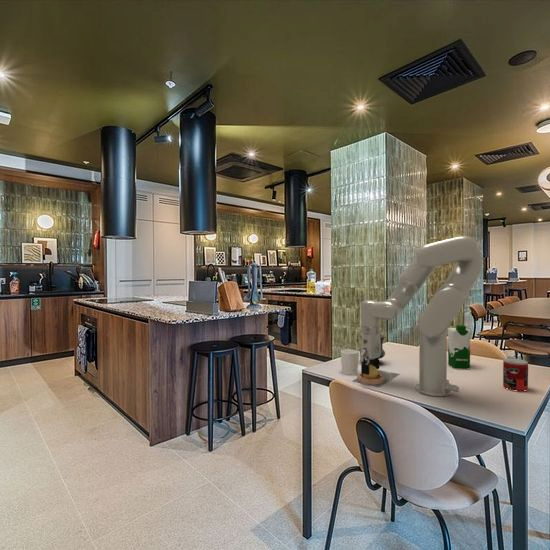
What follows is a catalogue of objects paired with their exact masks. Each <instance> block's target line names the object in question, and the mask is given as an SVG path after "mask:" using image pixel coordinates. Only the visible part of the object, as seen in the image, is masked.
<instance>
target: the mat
mask: <svg viewBox="0 0 550 550" xmlns="http://www.w3.org/2000/svg"><path fill="white" fill-rule="evenodd" d="M379 370H380V371H382V370H381V369H379ZM384 371H385V372H388V371H386V370H384ZM389 372H390V371H389ZM390 373H391V380H386V379H384V381H383V383H382V384H380V385H369V386H371V387H375V388H381V387H383V386H384V385H385V384H387V383H389V382H390V381H392V380H393V379H395V378H396V377H398V376H399V375H400V373H396V372H390ZM352 382H353V383H359V384H362V385H364V384H363V383H360V382H359V381H358V379H357V378H355V379H353V380H352ZM365 385H367V384H365ZM367 386H368V385H367Z"/></svg>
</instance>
